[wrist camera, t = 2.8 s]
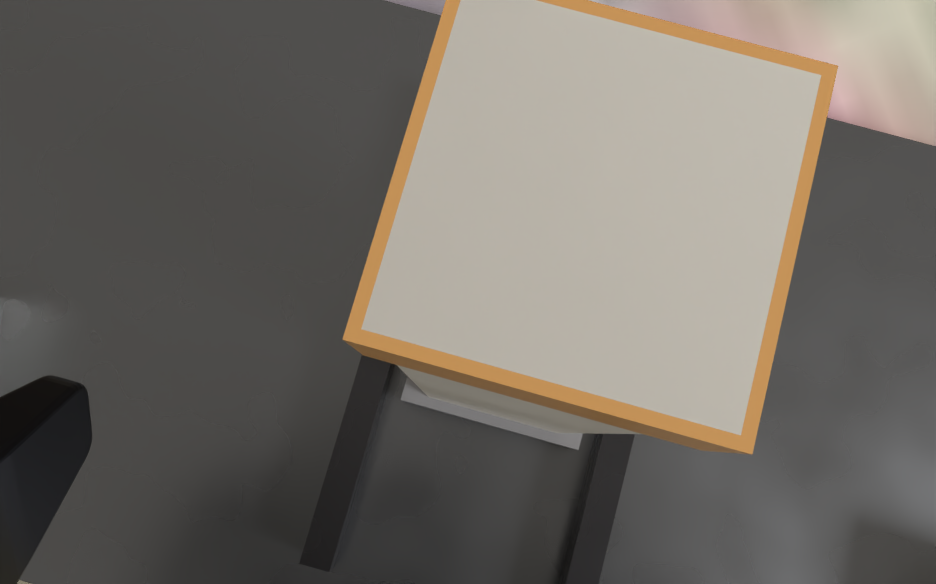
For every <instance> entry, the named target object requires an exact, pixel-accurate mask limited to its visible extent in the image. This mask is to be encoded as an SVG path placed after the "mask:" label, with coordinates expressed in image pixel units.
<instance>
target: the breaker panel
mask: <svg viewBox="0 0 936 584" xmlns="http://www.w3.org/2000/svg"><path fill="white" fill-rule="evenodd" d="M440 18H441V16H440V15H437V14H433V13H429V12H425V11H422V10H418V9H414V8H410V7H406V6H403V5H399V4H395V3H391V2H388V1H384V0H0V397H1V396H3V395H5V394H7V393H9V392H11V391H13V390H15V389H17V388H19V387H21V386H24V385H26V384H28V383H30V382H32V381H34V380H36V379H38V378H41V377H44V376H48V375H52V376H58V377H61V378H65V379H68V380H72V381H75V382H79V383H81V384H83V385H84V386H85V388H86V389H87V391H88V396H89V406H90V416H91V426H92V443H91V447H90V450H89V453H88V455H87V457H86V459H85V461H84V463H83V465H82V466H81V468H80V470H79V472H78V474H77V476H76V477H75V479H74V481H73V483H72V485H71V487H70V489H69V490H68V492H67V494H66V496H65V498H64V500H63V501H62V503H61V505H60V507H59V509H58V511H57V512H56V514H55V516H54V518H53V520H52V522H51V523H50V525H49V527H48V529H47V531H46V533H45V534H44V536H43V538H42V540H41V542H40V544H39V546H38V547H37V549H36V551H35V553H34V555H33V557H32V558H31V560H30V562H29V564H28V565H27V567H26V569H25V571H24V572H23V574H22V576H21V577H20V579H19V580H22V581H25V582H29V583H32V584H936V146H932V145H928V144H924V143H921V142H917V141H913V140H909V139H905V138H902V137H898V136H894V135H890V134H887V133H883V132H879V131H875V130H871V129H868V128H864V127H860V126H856V125H853V124H849V123H845V122H841V121H837V120H834V119H830V118H827V119H826V123H825V128H824V132H823V137H822V141H821V146H820V150H819V155H818V159H817V164H816V168H815V173H814V177H813V182H812V187H811V191H810V196H809V200H808V205H807V209H806V214H805V218H804V223H803V227H802V232H801V236H800V241H799V245H798V250H797V255H796V259H795V264H794V268H793V273H792V277H791V282H790V286H789V291H788V295H787V300H786V304H785V309H784V313H783V318H782V323H781V327H780V332H779V336H778V341H777V345H776V350H775V354H774V359H773V363H772V368H771V372H770V377H769V381H768V386H767V391H766V395H765V400H764V404H763V409H762V413H761V418H760V422H759V427H758V431H757V436H756V440H755V445H754V449H753V454H752V455H751V454H738V453H726V452H713V451H701V450H698V449H694V448H690V447H687V446H683V445H680V444H676V443H673V442H669V441H666V440H662V439H658V438H655V437H651V436H648V435H644V434H593V433H583V435H582V439H581V443H580V447H579V450H575V449H570V448H567V447H563V446H559V445H556V444H552V443H549V442H545V441H542V440H538V439H535V438H531V437H528V436H524V435H521V434H517V433H514V432H510V431H506V430H503V429H499V428H496V427H492V426H489V425H485V424H482V423H478V422H475V421H471V420H468V419H464V418H460V417H457V416H453V415H450V414H446V413H443V412H439V411H436V410H432V409H429V408H425V407H422V406H418V405H415V404H411V403H407V402H404V401H402V400H401V397H402V393H403V390H404V386H405V383H406V380H407V375H406V374H405V373H404V372H403V371H402V370H401V369H400V368H399V367H398V366H397V365H395V364H392V363H388V362H385V361H381V360H378V359H374V358H370V357H367V356H363V355H362V354H361V353H359V352H358V351H357V350H355V349H354V348H353V347H352V346H350V345H349V344H348V343H346V342H345V341H344V340H342V339H343V336H344V333H345V329H346V326H347V323H348V319H349V316H350V313H351V310H352V306H353V303H354V300H355V297H356V293H357V290H358V287H359V283H360V280H361V277H362V274H363V270H364V267H365V264H366V261H367V257H368V254H369V251H370V247H371V244H372V241H373V238H374V234H375V231H376V228H377V225H378V221H379V218H380V215H381V211H382V208H383V205H384V202H385V198H386V195H387V192H388V188H389V185H390V182H391V179H392V175H393V172H394V169H395V166H396V162H397V159H398V156H399V152H400V149H401V146H402V143H403V139H404V136H405V133H406V130H407V126H408V123H409V120H410V116H411V113H412V110H413V107H414V103H415V100H416V97H417V94H418V90H419V87H420V84H421V80H422V77H423V74H424V71H425V67H426V64H427V61H428V58H429V54H430V51H431V48H432V44H433V41H434V38H435V35H436V31H437V28H438V25H439V21H440Z"/></svg>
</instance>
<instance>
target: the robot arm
mask: <svg viewBox="0 0 936 584" xmlns="http://www.w3.org/2000/svg"><path fill="white" fill-rule="evenodd" d="M91 443H92V426H91V416H90V406H89V396H88V391H87V389H86V388H85V386H84V385H83V384H81V383H79V382H75V381H72V380H68V379H65V378H61V377H58V376H52V375H48V376H44V377H41V378H38V379H36V380H34V381H32V382H30V383H28V384H26V385H24V386H21V387H19V388H17V389H15V390H13V391H11V392H9V393H7V394H5V395H3V396H1V397H0V584H17V582H18V581H19V579H20V577H21V576H22V574H23V572H24V571H25V569H26V567H27V565H28V564H29V562H30V560H31V558H32V557H33V555H34V553H35V551H36V549H37V547H38V546H39V544H40V542H41V540H42V538H43V536H44V534H45V533H46V531H47V529H48V527H49V525H50V523H51V522H52V520H53V518H54V516H55V514H56V512H57V511H58V509H59V507H60V505H61V503H62V501H63V500H64V498H65V496H66V494H67V492H68V490H69V489H70V487H71V485H72V483H73V481H74V479H75V477H76V476H77V474H78V472H79V470H80V468H81V466H82V465H83V463H84V461H85V459H86V457H87V455H88V453H89V450H90V447H91Z"/></svg>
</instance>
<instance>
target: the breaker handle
mask: <svg viewBox="0 0 936 584" xmlns="http://www.w3.org/2000/svg"><path fill="white" fill-rule="evenodd" d="M837 69H838V66H837V65H833V64H829V63H825V62H821V61H817V60H814V59H810V58H806V57H802V56H798V55H795V54H791V53H787V52H783V51H779V50H776V49H772V48H768V47H764V46H760V45H756V44H753V43H749V42H745V41H741V40H737V39H734V38H730V37H726V36H722V35H718V34H714V33H711V32H707V31H703V30H699V29H695V28H692V27H688V26H684V25H680V24H676V23H672V22H669V21H665V20H661V19H657V18H653V17H650V16H646V15H642V14H638V13H634V12H630V11H627V10H623V9H619V8H615V7H611V6H608V5H604V4H600V3H596V2H592V1H588V0H446V2H445V5H444V8H443V12H442V15H441V18H440V21H439V25H438V28H437V31H436V35H435V38H434V41H433V44H432V48H431V51H430V54H429V58H428V61H427V64H426V67H425V71H424V74H423V77H422V80H421V84H420V87H419V90H418V94H417V97H416V100H415V103H414V107H413V110H412V113H411V116H410V120H409V123H408V126H407V130H406V133H405V136H404V139H403V143H402V146H401V149H400V152H399V156H398V159H397V162H396V166H395V169H394V172H393V175H392V179H391V182H390V185H389V188H388V192H387V195H386V198H385V202H384V205H383V208H382V211H381V215H380V218H379V221H378V225H377V228H376V231H375V234H374V238H373V241H372V244H371V247H370V251H369V254H368V257H367V261H366V264H365V267H364V270H363V274H362V277H361V280H360V283H359V287H358V290H357V293H356V297H355V300H354V303H353V306H352V310H351V313H350V316H349V319H348V323H347V326H346V329H345V333H344V336H343V339H342V340H344V341H345V342H346V343H348V344H349V345H350V346H352V347H353V348H354V349H355V350H357V351H358V352H359V353H361V354H362V355H363V356H367V357H370V358H374V359H378V360H381V361H385V362H388V363H392V364H395V365H397V366H398V367H399V368H400V369H401V370H402V371H403V372H404V373H405V374H406V375H407V380H406V383H405V386H404V390H403V393H402V397H401V400H402V401H404V402H407V403H411V404H415V405H418V406H422V407H425V408H429V409H432V410H436V411H439V412H443V413H446V414H450V415H453V416H457V417H460V418H464V419H468V420H471V421H475V422H478V423H482V424H485V425H489V426H492V427H496V428H499V429H503V430H506V431H510V432H514V433H517V434H521V435H524V436H528V437H531V438H535V439H538V440H542V441H545V442H549V443H552V444H556V445H559V446H563V447H567V448H570V449H575V450H579V447H580V443H581V439H582V435H583V433H593V434H644V435H648V436H651V437H655V438H658V439H662V440H666V441H669V442H673V443H676V444H680V445H683V446H687V447H690V448H694V449H698V450H701V451H713V452H726V453H738V454H751V455H752V454H753V449H754V445H755V440H756V436H757V431H758V427H759V422H760V418H761V413H762V409H763V404H764V400H765V395H766V391H767V386H768V381H769V377H770V372H771V368H772V363H773V359H774V354H775V350H776V345H777V341H778V336H779V332H780V327H781V323H782V318H783V313H784V309H785V304H786V300H787V295H788V291H789V286H790V282H791V277H792V273H793V268H794V264H795V259H796V255H797V250H798V245H799V241H800V236H801V232H802V227H803V223H804V218H805V214H806V209H807V205H808V200H809V196H810V191H811V187H812V182H813V177H814V173H815V168H816V164H817V159H818V155H819V150H820V146H821V141H822V137H823V132H824V128H825V123H826V119H827V114H828V109H829V105H830V100H831V96H832V91H833V87H834V82H835V78H836V73H837Z"/></svg>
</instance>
